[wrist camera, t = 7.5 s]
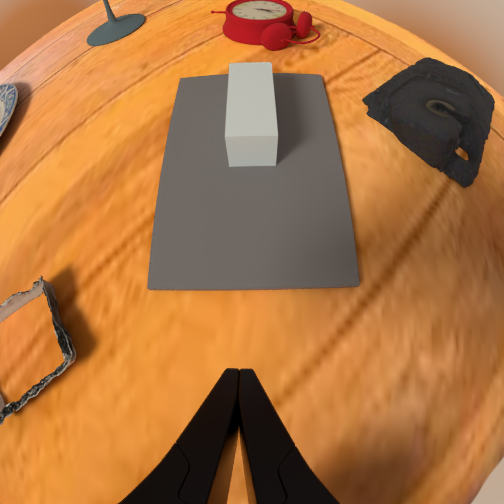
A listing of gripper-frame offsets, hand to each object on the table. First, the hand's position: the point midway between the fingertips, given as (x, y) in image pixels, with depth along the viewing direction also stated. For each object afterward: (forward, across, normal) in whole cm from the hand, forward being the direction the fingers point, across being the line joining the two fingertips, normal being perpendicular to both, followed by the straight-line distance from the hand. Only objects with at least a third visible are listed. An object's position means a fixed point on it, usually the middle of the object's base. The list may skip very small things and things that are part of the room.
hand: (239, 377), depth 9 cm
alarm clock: (+38, -2, -21) cm, 43 cm away
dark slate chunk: (+28, -24, -11) cm, 39 cm away
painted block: (+18, 0, -5) cm, 19 cm away
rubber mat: (+21, 0, -4) cm, 22 cm away
